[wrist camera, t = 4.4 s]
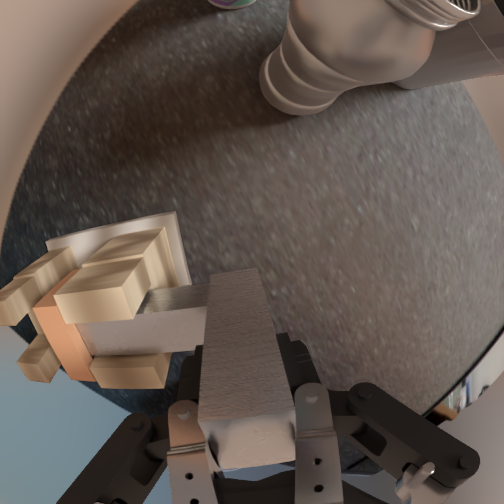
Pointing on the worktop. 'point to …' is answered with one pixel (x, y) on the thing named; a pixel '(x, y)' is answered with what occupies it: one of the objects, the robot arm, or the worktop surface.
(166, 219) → the stand
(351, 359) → the worktop surface
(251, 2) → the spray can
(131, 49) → the worktop surface
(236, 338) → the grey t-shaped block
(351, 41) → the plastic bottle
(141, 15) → the worktop surface
